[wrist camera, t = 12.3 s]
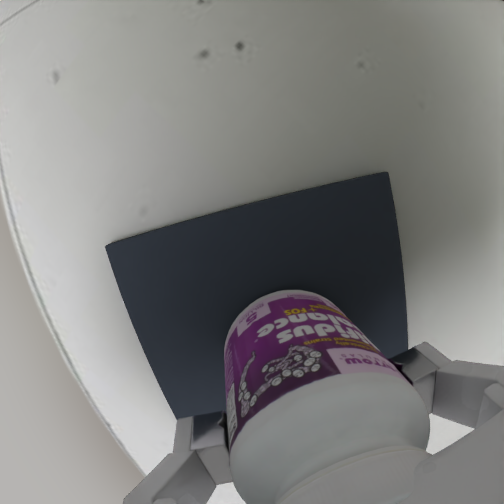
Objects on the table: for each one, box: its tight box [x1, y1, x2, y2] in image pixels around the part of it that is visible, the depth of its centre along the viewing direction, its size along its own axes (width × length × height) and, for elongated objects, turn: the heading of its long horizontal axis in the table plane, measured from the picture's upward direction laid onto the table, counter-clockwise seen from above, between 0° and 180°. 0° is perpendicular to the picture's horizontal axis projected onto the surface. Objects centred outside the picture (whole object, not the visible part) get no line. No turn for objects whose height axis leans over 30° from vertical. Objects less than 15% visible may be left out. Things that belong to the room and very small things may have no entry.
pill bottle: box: [224, 290, 432, 504], centre depth 8 cm, size 5×5×10 cm
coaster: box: [105, 172, 408, 420], centre depth 14 cm, size 12×12×1 cm
